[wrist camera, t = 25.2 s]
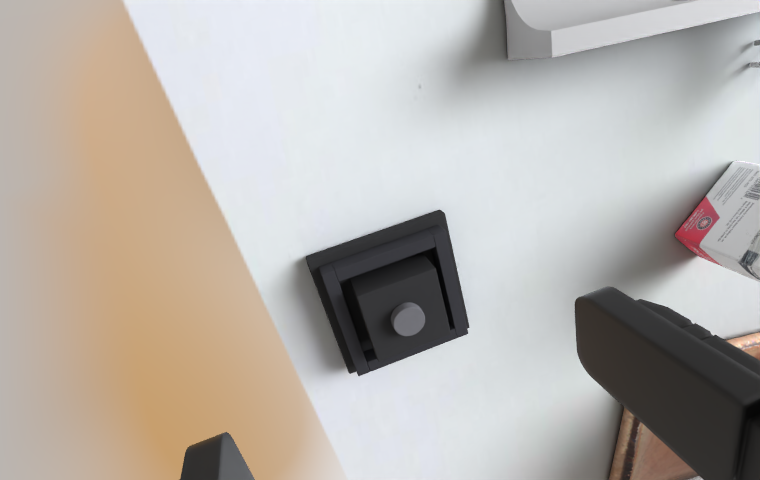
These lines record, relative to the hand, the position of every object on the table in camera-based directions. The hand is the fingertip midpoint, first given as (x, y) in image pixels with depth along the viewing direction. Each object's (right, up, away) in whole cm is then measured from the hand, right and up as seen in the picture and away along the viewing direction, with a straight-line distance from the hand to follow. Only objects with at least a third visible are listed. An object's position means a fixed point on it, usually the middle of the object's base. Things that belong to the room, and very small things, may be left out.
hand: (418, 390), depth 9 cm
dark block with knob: (0, -1, +25) cm, 25 cm away
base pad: (0, -1, +26) cm, 26 cm away
